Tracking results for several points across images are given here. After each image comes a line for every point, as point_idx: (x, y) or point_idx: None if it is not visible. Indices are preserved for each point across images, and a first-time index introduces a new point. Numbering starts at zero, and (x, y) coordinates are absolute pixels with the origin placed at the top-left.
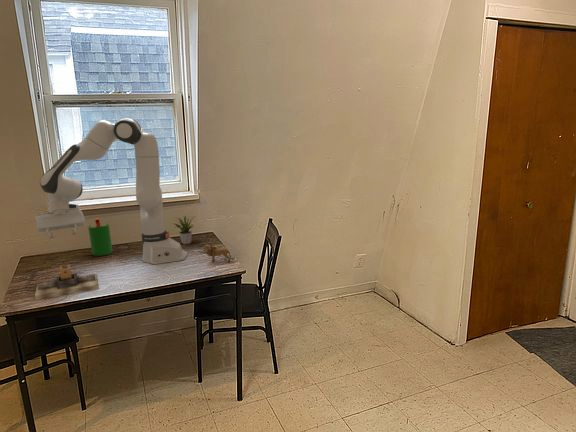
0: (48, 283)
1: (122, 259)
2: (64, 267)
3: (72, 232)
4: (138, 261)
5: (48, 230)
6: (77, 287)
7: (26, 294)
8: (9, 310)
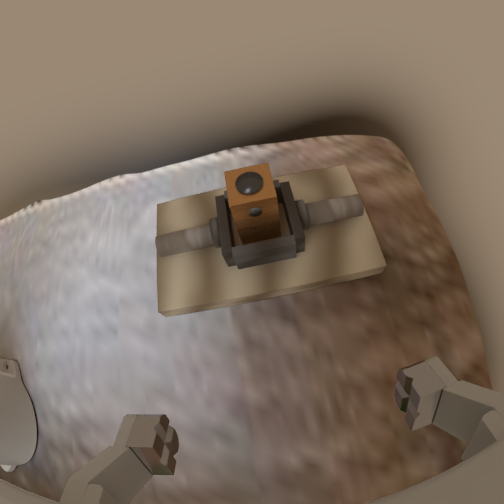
0: (323, 200)
1: None
2: (248, 172)
3: (158, 417)
4: (46, 427)
5: (487, 415)
6: (220, 192)
7: (397, 227)
8: (383, 140)
